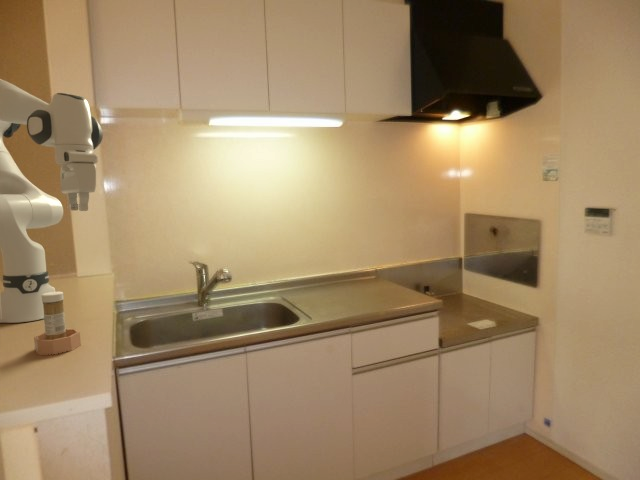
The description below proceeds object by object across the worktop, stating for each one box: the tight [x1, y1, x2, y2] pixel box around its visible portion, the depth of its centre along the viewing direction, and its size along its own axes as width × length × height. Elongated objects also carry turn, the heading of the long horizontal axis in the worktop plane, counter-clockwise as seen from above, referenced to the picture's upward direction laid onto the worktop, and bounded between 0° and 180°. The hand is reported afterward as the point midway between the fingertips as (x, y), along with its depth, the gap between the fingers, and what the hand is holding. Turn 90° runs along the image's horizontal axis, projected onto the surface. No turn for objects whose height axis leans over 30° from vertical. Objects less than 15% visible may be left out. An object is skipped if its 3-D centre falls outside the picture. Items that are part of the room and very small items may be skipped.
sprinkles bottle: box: [42, 291, 67, 340], centre depth 107 cm, size 5×5×14 cm
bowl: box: [33, 328, 82, 356], centre depth 107 cm, size 9×9×4 cm
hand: (78, 210), depth 113 cm, fingers open, 8 cm apart
